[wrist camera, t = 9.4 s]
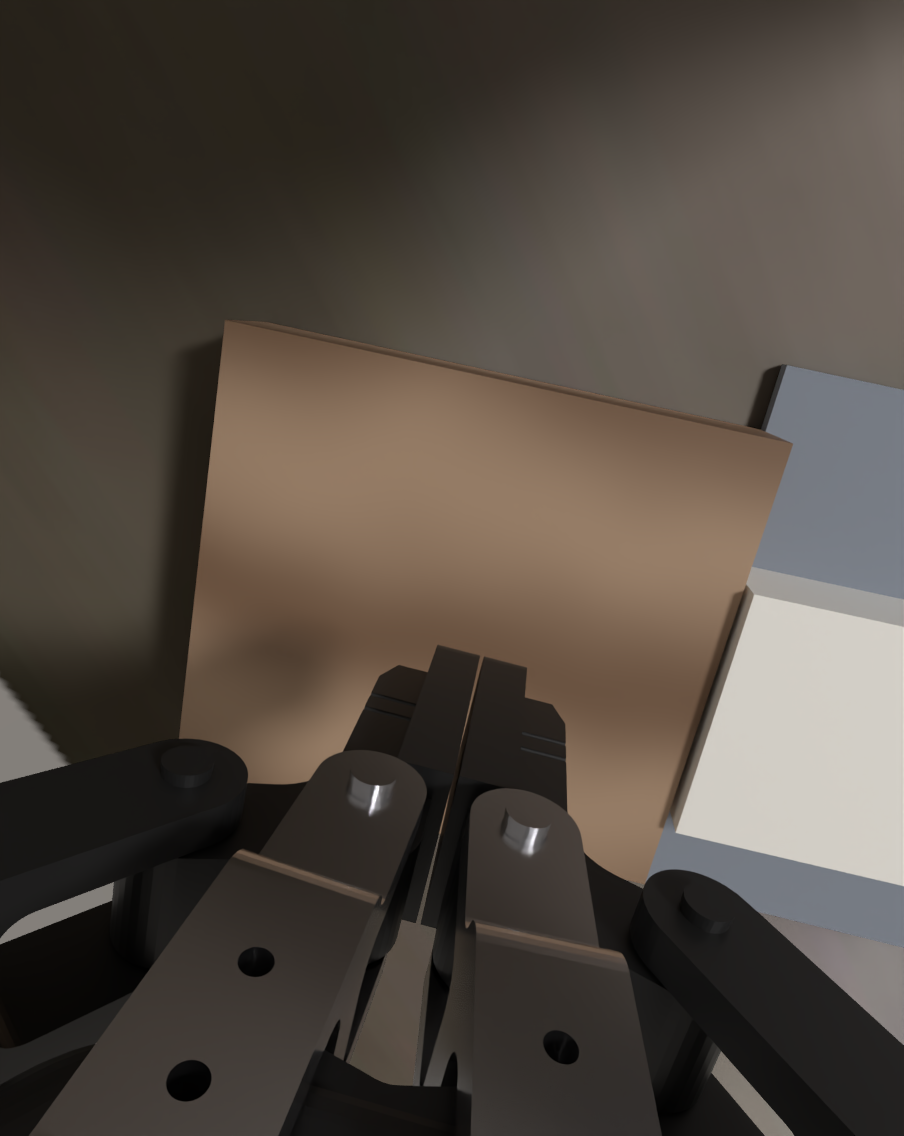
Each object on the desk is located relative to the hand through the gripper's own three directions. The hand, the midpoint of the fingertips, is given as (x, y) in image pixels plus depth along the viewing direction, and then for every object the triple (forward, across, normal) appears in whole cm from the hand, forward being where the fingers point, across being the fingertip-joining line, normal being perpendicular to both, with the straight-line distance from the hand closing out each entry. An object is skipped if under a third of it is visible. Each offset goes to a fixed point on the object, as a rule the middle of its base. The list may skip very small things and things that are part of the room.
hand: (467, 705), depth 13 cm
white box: (+7, -10, +1) cm, 12 cm away
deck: (+8, +1, +1) cm, 8 cm away
